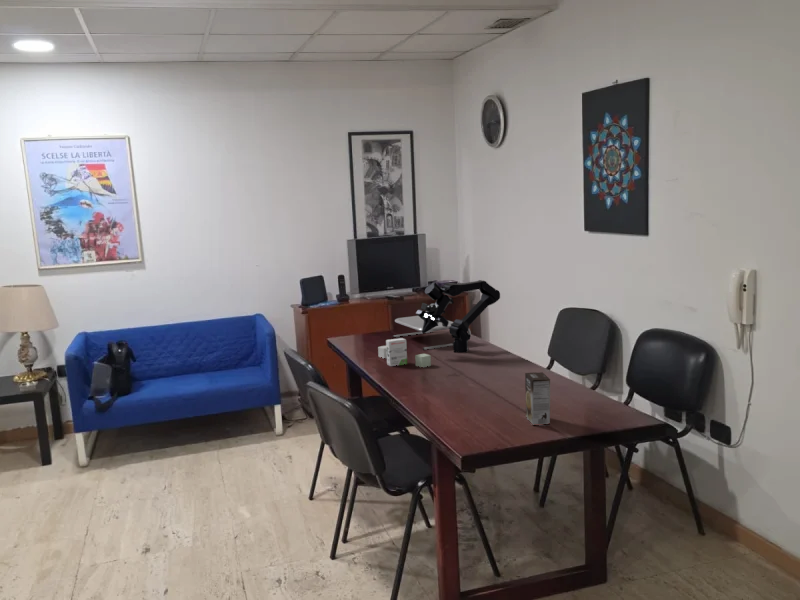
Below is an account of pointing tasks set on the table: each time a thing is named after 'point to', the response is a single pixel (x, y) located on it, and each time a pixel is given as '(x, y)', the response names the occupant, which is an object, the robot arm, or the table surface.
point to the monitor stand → (417, 324)
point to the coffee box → (537, 398)
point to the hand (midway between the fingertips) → (422, 332)
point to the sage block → (423, 360)
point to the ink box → (396, 352)
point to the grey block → (382, 352)
